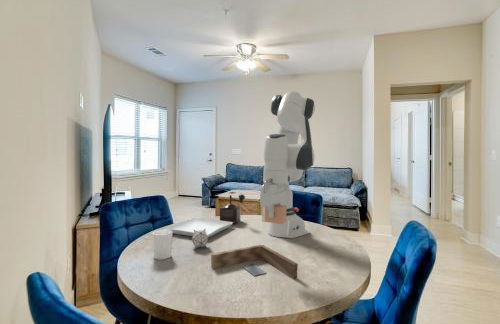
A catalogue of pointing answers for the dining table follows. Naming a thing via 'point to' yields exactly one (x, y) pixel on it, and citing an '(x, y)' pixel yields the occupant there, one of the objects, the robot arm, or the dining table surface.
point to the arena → (253, 254)
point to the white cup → (162, 244)
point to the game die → (200, 238)
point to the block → (279, 214)
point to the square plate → (199, 226)
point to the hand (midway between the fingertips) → (274, 215)
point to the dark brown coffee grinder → (231, 211)
